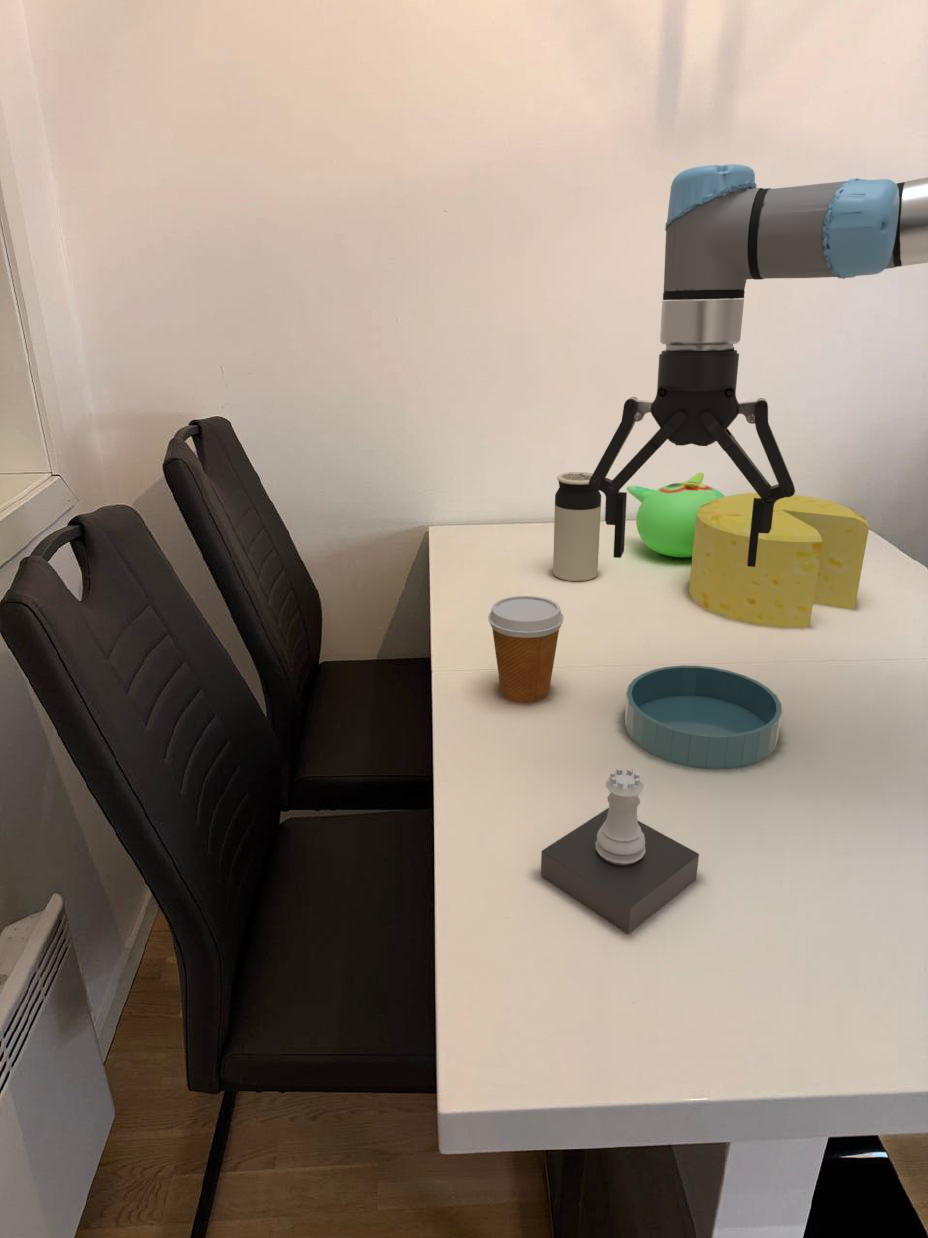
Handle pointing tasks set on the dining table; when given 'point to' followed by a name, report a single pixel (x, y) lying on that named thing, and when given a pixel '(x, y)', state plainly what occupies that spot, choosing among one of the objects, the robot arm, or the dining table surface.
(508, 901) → the dining table surface
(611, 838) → the rook chess piece
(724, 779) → the dining table surface
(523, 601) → the disposable coffee cup
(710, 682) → the tin
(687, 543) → the toy bird
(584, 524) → the travel mug
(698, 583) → the cheese
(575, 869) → the stand
